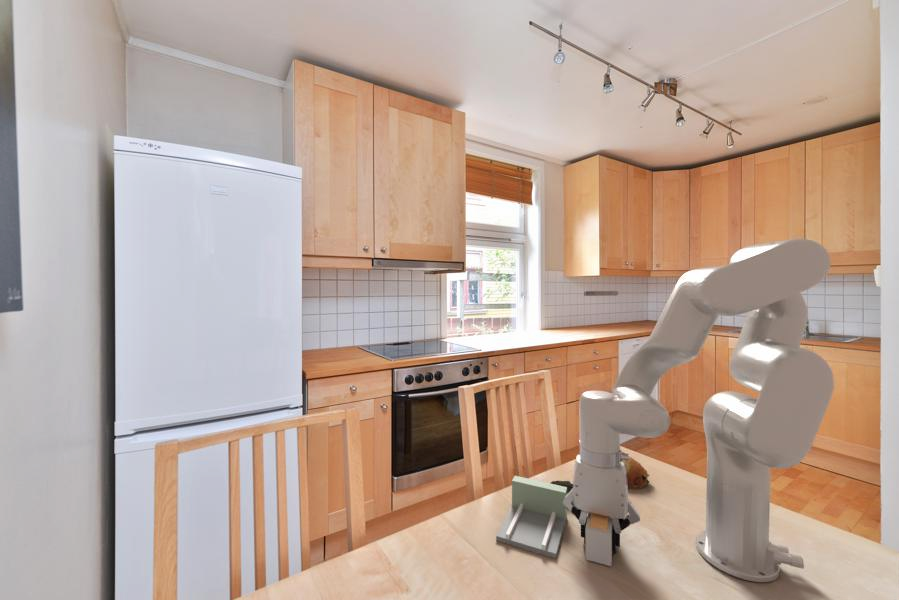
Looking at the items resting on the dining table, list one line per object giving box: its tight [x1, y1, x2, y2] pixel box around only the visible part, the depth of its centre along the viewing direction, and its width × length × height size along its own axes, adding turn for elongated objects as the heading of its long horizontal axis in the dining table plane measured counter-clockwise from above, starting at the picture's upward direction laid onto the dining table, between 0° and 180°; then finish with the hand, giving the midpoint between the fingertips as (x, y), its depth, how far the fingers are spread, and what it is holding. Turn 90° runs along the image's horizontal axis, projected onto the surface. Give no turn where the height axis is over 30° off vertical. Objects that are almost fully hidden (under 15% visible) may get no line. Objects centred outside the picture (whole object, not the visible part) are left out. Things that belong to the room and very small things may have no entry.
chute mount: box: [495, 475, 568, 559], centre depth 80 cm, size 12×14×7 cm
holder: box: [585, 512, 613, 567], centre depth 74 cm, size 4×10×7 cm, turn 154°
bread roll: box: [622, 455, 650, 490], centre depth 100 cm, size 10×10×8 cm
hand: (600, 543), depth 74 cm, fingers closed on holder, 4 cm apart
